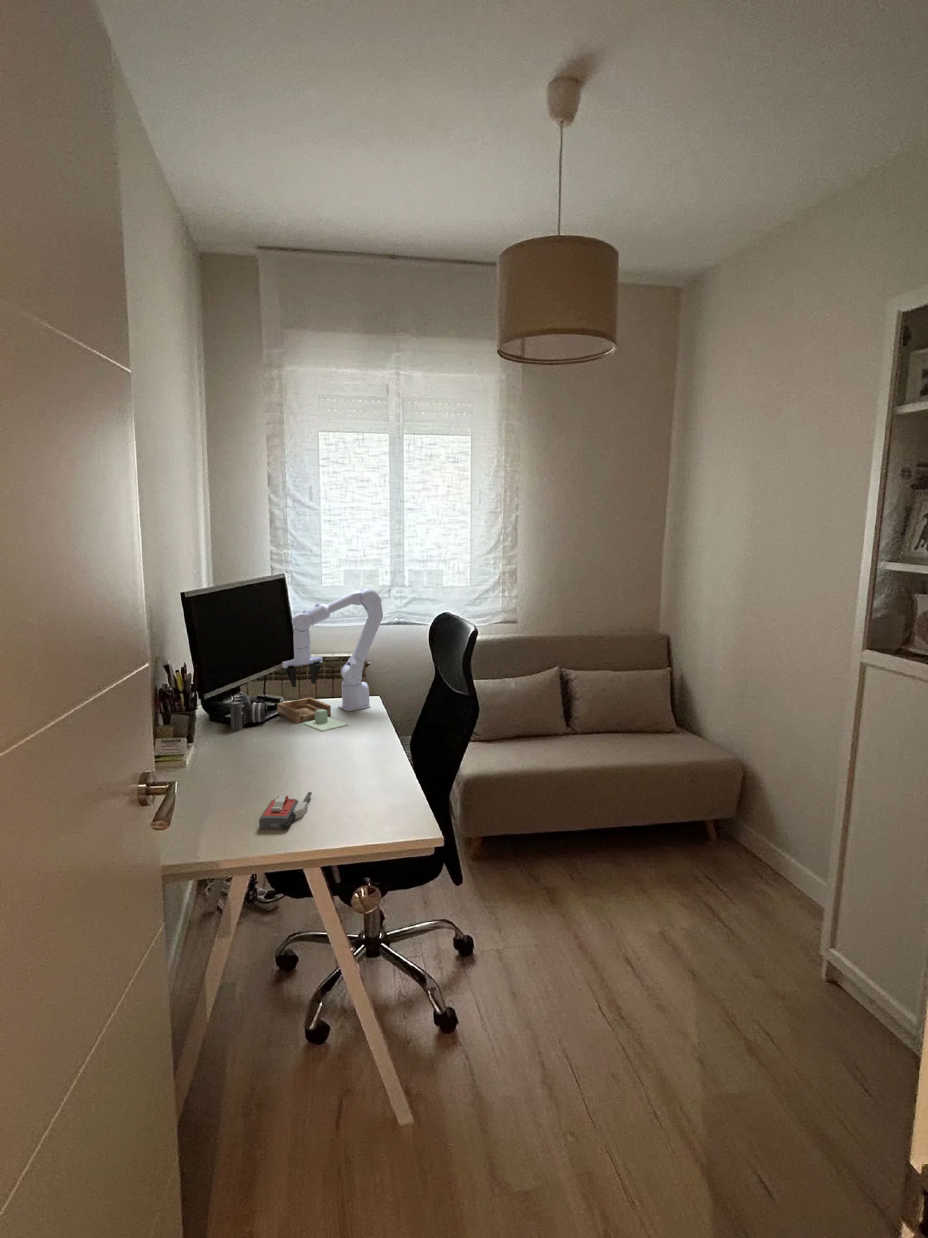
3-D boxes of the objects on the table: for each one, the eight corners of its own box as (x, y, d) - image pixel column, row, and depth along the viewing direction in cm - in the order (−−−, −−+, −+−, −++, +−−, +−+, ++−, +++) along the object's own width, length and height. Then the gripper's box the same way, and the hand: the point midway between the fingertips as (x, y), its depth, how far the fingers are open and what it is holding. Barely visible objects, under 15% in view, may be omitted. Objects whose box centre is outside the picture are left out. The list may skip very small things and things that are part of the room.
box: (311, 707, 263) (310, 697, 262) (330, 716, 251) (330, 705, 250) (277, 713, 254) (277, 703, 254) (296, 723, 243) (296, 712, 242)
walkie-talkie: (296, 833, 159) (314, 798, 179) (295, 814, 158) (314, 781, 178) (256, 833, 159) (279, 798, 179) (255, 814, 158) (278, 781, 178)
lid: (328, 719, 249) (328, 705, 248) (348, 727, 240) (347, 712, 239) (303, 725, 242) (302, 711, 241) (322, 733, 233) (321, 718, 232)
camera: (263, 729, 236) (261, 700, 235) (228, 731, 235) (227, 701, 233) (267, 717, 250) (266, 689, 249) (235, 719, 248) (233, 691, 247)
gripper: (315, 643, 261) (316, 680, 263) (278, 648, 252) (279, 686, 254) (324, 646, 255) (326, 683, 257) (286, 651, 246) (288, 689, 248)
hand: (303, 684), depth 255 cm, fingers open, 7 cm apart
